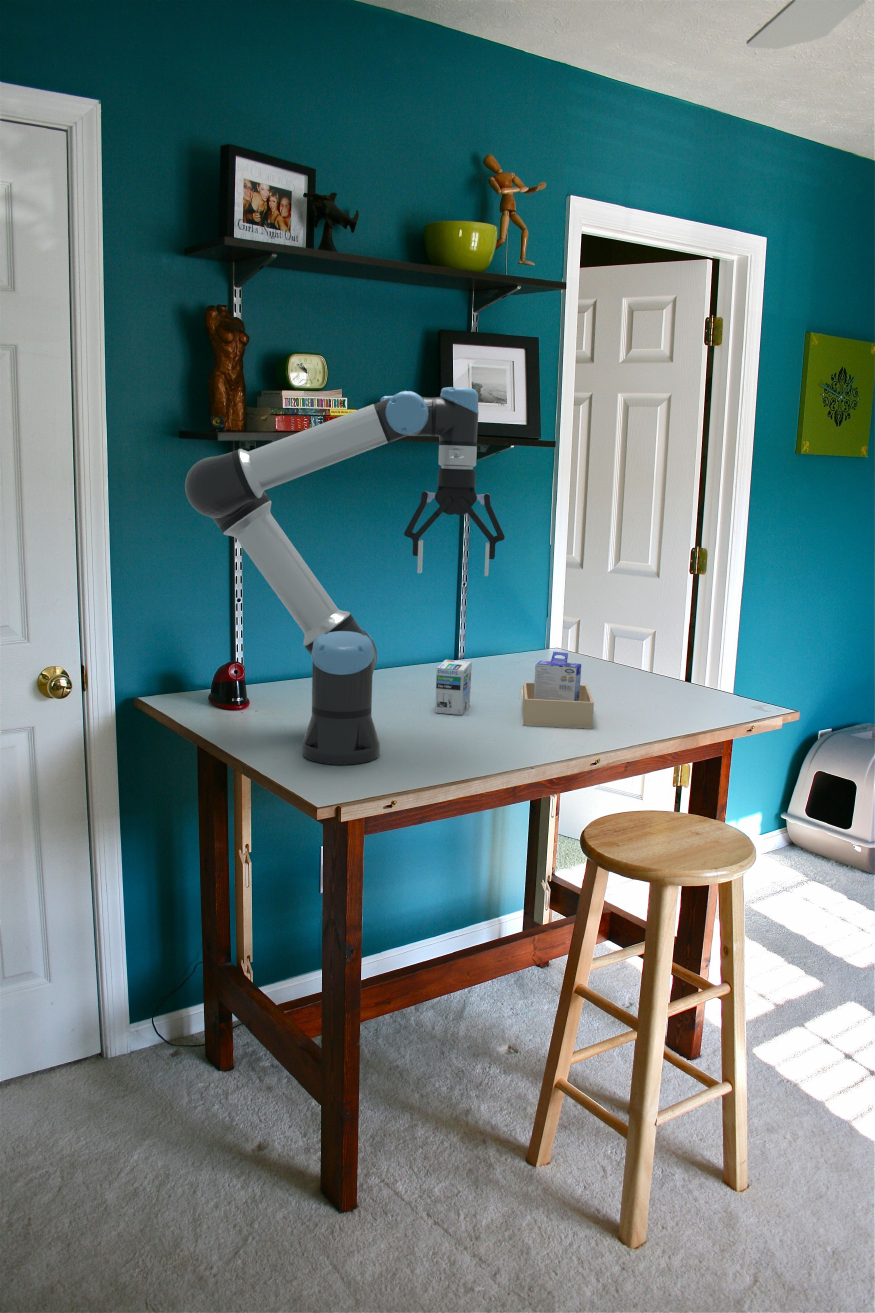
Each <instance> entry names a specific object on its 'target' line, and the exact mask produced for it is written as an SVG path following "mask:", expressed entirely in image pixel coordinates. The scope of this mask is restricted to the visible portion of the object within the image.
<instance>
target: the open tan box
mask: <svg viewBox="0 0 875 1313" xmlns="http://www.w3.org/2000/svg"><path fill="white" fill-rule="evenodd" d="M534 683H535V682H527V681H526V682H525V681H524V682H522V688H521V689H520V694H521V709H522V710H521V711H522V724H523V726H527V727H528V726H530V727H548V728H565V729H567V728H568V729H583V728H584V729H585V730H588V729H589V730H593V722H594V720H593V719H594V706H595V705H594V704H595V702H594V699H593V696H592V694H591V692H590V689H589V686H588V684H587V685H586V684H580V694H579V701H561V700H541V699H534Z"/></svg>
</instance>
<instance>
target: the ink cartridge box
mask: <svg viewBox="0 0 875 1313" xmlns="http://www.w3.org/2000/svg"><path fill="white" fill-rule="evenodd" d="M556 656H562V657H564V658H559V657H556ZM568 656H569V652H561V651H553V652H552V655H551V659H550V660H540V661H538V662H537V663H535V668H534V669H535V670H534V682H533V683H534V699H541V700H561V701H579V694H580V685H581V679H582V677H581V676H582V664H581V663H575V662H568V659H569V657H568Z"/></svg>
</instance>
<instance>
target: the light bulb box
mask: <svg viewBox="0 0 875 1313" xmlns="http://www.w3.org/2000/svg"><path fill="white" fill-rule="evenodd" d="M472 664H473V663H472V662H471V661H463V660H453V659H445V660H443V661H442V662H441V664H440V665H438V666H437V667H436V674H435V676H436V677H435V678H436V680H435V683H436V684H435V704H434V705H435V707H434V708H435V709H434V710H435V713H436V714H447V715H457V716H463V715H464V714H465V713H466V711H467V710H468V708H469V707H470V706H471V688H472V685H471V684H472Z"/></svg>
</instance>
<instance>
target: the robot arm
mask: <svg viewBox="0 0 875 1313" xmlns="http://www.w3.org/2000/svg"><path fill="white" fill-rule="evenodd" d="M478 428H479V393H478V391H477V390H475V389H474V388H471V387H462V386H461V387H460V386H459V387H457V386H456V387H454V386H453V387H452V386H450V387H449V386H448V387H443V388H442V389H441V390H440V395H439V396H438V397H437V396H436V397H425V396H421V395H419V394H418V393H417V392H414V391H410V390H408V391H407V390H403V391H400V392H398V393H395V394H394V395H384V396H382V397H381V398H380V401H378V402H375V403H371V404H370V405H367V406H364V407H362V408H360V409H356V410H354V411H352V412H349V413H347V414H344V415H341V416H339V417H336V418H333V419H331V420H328V421H325V422H323V423H320V424H318V425H315V426H312V427H309V428H307V429H305V430H301V431H299V432H296V433H294V434H292V435H289V436H287V437H283V438H281V439H278V440H276V441H273V442H270V443H267V444H265V445H263V446H260V447H257V448H255V449H252V450H249V451H247V450H245V449H243V448H238V449H236V450H233V451H231V452H230V451H229V452H228V453H224V454H221V455H215V456H210V457H209V456H208V457H205V458H202V459H201V460H199V461H197V462H196V463H194V464H193V465H192V467H191V468H190V469H189V470H188V472H187V475H186V477H185V482H184V491H185V496H186V498H187V501H188V502H189V504H190V505H191V507H192V509H194V510H196V512H198V513H199V514H201V515H202V516H205V517H208V518H211V519H212V520H213V522H214V523H215V524H216V525H217V527H218V528H219V530H220V531H221V533H222V534H223V535H225V536H230V537H234V538H235V539H236V540H237V542H238V543H239V544H240V546H241V547H242V549H243V550H244V552H245V553H246V554H247V555H248V557H249V558H250V560H251V561H252V563H253V564H254V565H255V567H256V568H257V569H258V571H259V573H261V575H262V576H263V578H264V579H265V581H266V582H267V583H268V585H269V586H270V587H271V589H272V590H273V592H274V593H275V594H276V596H277V598H278V599H279V600H280V601H281V603H282V604H283V606H284V607H285V608H286V609H287V611H288V612H289V614H290V615H291V617H292V618H293V620H294V621H295V623H297V625H298V627H299V628H300V629H301V630H302V633H304V634H303V635H304V638H303V646H304V648H305V649H306V650H307V651H308V654H310V656H311V657H310V658H311V661H312V663H311V664H312V672H311V675H312V676H311V679H312V680H311V686H312V688H311V716H310V720H309V723H308V725H307V728H306V731H305V734H304V737H303V739H302V740H303V741H302V748H301V749H302V756H303V757H304V758H306V759H307V760H309V761H312V762H316V763H320V764H325V765H335V766H336V765H341V766H343V765H346V766H347V765H357V764H363V763H368V762H371V761H374V760H375V759H377V758H378V757H379V756H380V748H381V747H380V745H381V744H380V740H379V737H378V733H377V731H376V727H375V724H374V721H373V717H372V702H373V700H372V699H373V675H374V671H375V668H376V666H377V662H378V650H377V645H376V642H375V641H374V639H373V637H371V635H370V634H369V633H368V632H367V630H364V629H363V628H361V626H360V625H359V624H358V622H357V620H356V619H355V618H354V617H353V616H352V614H351V612H349V611H347V610H346V611H345V610H341V609H339V608H338V607H337V605H336V604H335V603H334V600H332V598H331V597H330V595H329V594H328V592H327V590H325V588H324V586H323V585H322V584H321V582H320V581H319V579H318V578H317V577H316V576H315V574H314V573H313V571H312V570H311V568H310V567H309V565H308V564H307V563H306V561H305V559H304V558H303V557H302V555H301V554H300V553H299V551H298V550H297V549H296V547H295V546H294V545H293V543H292V541H291V539H289V537H288V536H287V535H286V533H285V532H284V530H283V529H282V528H281V526H280V524H279V523H278V521H276V519H275V518H274V516H273V515H272V513H271V508H272V501H271V499H270V497H269V496H268V495H267V493H266V490H269V489H272V488H274V487H276V486H279V485H282V484H285V483H287V482H289V481H293V480H295V479H297V478H300V477H302V476H305V475H307V474H310V473H312V472H315V471H318V470H321V469H324V468H326V467H329V466H331V465H334V464H337V463H339V462H341V461H344V460H347V459H350V458H352V457H355V456H356V455H360V454H362V453H365V452H367V451H370V450H373V449H375V448H378V447H381V446H384V445H385V444H389V443H392V442H394V441H397V440H399V439H402V438H405V437H407V436H409V437H411V436H412V437H438V440H439V441H438V442H439V443H438V465H439V466H440V468H439V469H438V470H437V490H436V492H430V491H427V490H424V491H422V492H421V496H420V502H419V504H418V506H417V507H416V510H415V512H414V513H413V516H411V519H410V521H409V522H408V525H407V526H406V529H405V530H404V533H403V535H404V537H407V538H409V539H411V541H412V556H413V557H417V571H416V573H417V574H422V573H423V558H424V557H423V556H424V540H423V539H420V538H421V537H422V536H423V535H424V534H425V533H426V532H427V530H428V529H429V528H430V527H431V526H432V525H433V524H434V523H435V521H436V520H437V519H438V518H439V517H440V516H441V515H442V514H443V513H444V514H446V515H448V516H452V515H458V516H464V515H466V514H467V515H468V516H469V517H470V519H471V520H472V521H473V522H474V524H475V525H476V526H477V527H478V529H479V530H480V531H481V532H482V534H483V535H484V536H485V538H486V539H487V540H488V542H485V552H484V553H485V557H484V573H483V576H484V577H488V576H489V570H490V568H489V567H490V560H494V559H495V557H496V545H497V543H498V542H502V541H504V540H505V533H504V532H503V529H502V527H501V524H500V523H499V521H498V517H497V516H496V514H495V511H494V509H493V507H492V504H491V495H490V494H489V493H485V494H483V493H481V494H477V493H476V473H477V472H476V470H475V469H474V467H476V466H477V455H478V454H477V452H478V450H477V449H478V445H477V444H478V431H479V430H478ZM433 499H435V502H436V503H437V505H438V508H437V509H436V510H435V511H434V512H433V513H432V514H431V515H430V517H428V519H427V520H426V521H425V522H424V523H422V525H421V526H420V528H419V529H418V530H417V531H416V532H414V529H415V528H416V525H417V523H418V522H419V520H420V518H421V516H422V514H423V512H424V511H425V508H426V507H427V505H428V503H431V502H432V500H433ZM477 501H479V503H480V505H482V506H484V507H485V510H486V513H487V515H488V518H489V520H490V522H491V525H492V526H493V529H494V531H495V533H496V535H493V533H492V532H491V530H490V529H489V528H488V527H487V525H486V524H485V522H484V521H483V520H482V519H481V518H480V516H479V515H478V513H477V512H476V511H475V509H474V508H473V505H475V503H476V502H477Z"/></svg>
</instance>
